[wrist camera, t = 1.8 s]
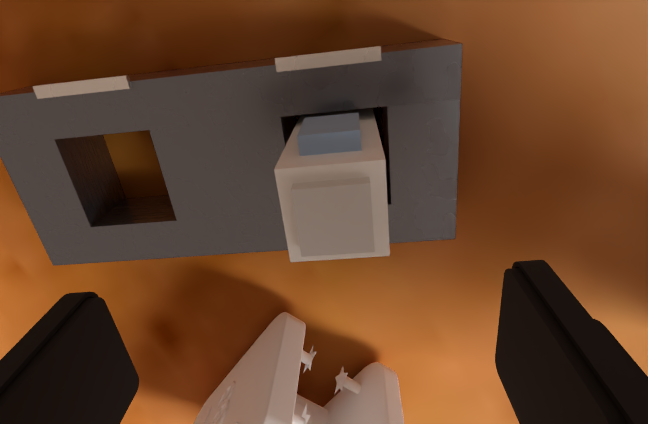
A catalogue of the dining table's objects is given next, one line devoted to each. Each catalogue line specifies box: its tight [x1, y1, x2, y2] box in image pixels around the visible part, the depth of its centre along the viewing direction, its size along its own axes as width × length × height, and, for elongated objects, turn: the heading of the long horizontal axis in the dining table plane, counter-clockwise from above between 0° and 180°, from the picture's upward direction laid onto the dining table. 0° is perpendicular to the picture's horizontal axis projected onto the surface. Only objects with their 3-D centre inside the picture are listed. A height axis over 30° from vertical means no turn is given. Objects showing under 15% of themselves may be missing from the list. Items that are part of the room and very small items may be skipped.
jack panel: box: [0, 39, 462, 265], centre depth 23 cm, size 24×10×4 cm, turn 96°
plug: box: [274, 108, 390, 262], centre depth 19 cm, size 4×5×11 cm
